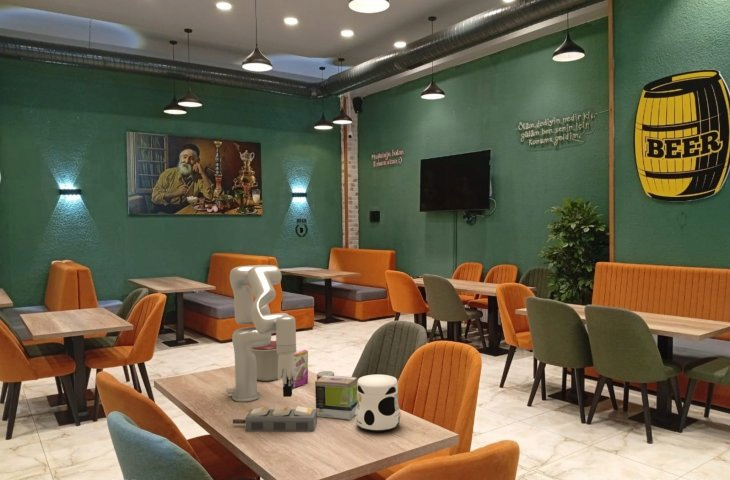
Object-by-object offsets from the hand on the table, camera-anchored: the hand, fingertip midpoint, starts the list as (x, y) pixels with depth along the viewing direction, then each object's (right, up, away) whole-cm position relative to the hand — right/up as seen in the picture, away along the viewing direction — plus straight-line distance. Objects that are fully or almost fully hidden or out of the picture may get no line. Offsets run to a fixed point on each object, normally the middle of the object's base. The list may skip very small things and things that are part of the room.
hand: (287, 396), depth 207 cm
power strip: (-5, -12, +1) cm, 13 cm away
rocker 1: (-11, -6, +1) cm, 13 cm away
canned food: (+12, -11, +35) cm, 39 cm away
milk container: (+35, -12, 0) cm, 37 cm away
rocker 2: (-2, -6, +1) cm, 7 cm away
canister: (-19, -10, +66) cm, 70 cm away
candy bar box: (-3, -11, +54) cm, 55 cm away
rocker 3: (+6, -6, 0) cm, 9 cm away
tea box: (+18, -12, +14) cm, 26 cm away
